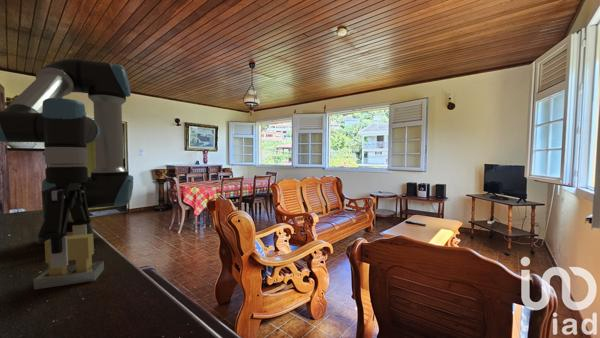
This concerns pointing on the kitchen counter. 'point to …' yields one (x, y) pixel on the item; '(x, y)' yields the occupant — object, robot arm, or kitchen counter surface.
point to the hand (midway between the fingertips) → (71, 257)
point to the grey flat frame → (68, 276)
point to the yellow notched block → (74, 253)
